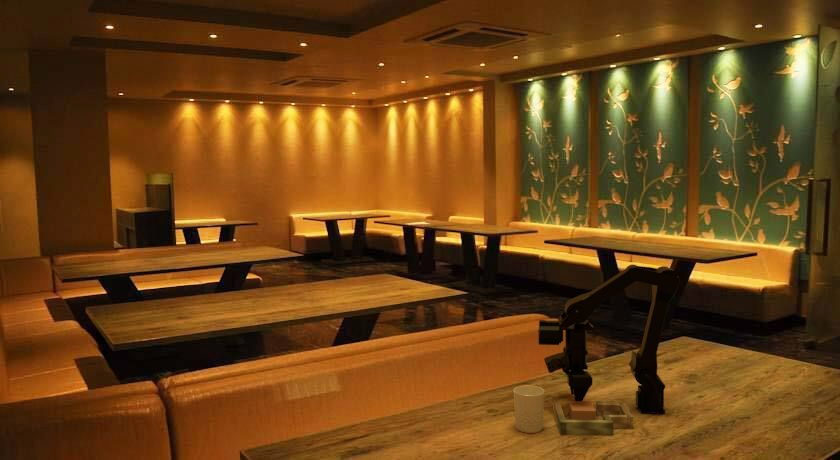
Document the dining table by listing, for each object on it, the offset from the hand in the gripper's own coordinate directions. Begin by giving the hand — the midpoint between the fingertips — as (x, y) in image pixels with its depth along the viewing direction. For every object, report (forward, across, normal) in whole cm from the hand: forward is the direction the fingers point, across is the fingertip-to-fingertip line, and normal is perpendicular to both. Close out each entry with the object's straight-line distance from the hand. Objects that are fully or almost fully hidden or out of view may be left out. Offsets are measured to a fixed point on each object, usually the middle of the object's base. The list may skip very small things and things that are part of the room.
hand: (575, 400), depth 185 cm
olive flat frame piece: (+2, +11, +3) cm, 12 cm away
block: (+2, +9, 0) cm, 9 cm away
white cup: (+2, +15, -14) cm, 21 cm away
